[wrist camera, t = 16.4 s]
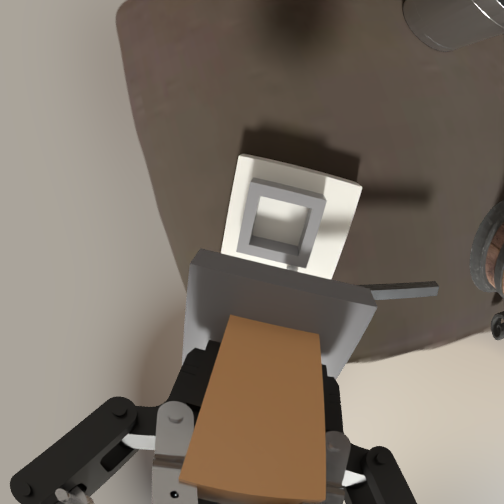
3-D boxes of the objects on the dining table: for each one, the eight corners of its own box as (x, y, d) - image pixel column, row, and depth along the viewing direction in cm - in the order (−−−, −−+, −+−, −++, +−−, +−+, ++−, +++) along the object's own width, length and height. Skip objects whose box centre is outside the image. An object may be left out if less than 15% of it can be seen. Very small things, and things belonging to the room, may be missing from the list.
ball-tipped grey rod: (436, 276, 27) (440, 282, 26) (431, 294, 28) (435, 300, 27) (280, 281, 29) (279, 287, 28) (280, 300, 30) (280, 307, 29)
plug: (216, 225, 15) (90, 420, 4) (357, 260, 15) (426, 471, 4) (201, 333, 19) (137, 493, 8) (313, 358, 18) (312, 525, 8)
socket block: (243, 153, 32) (230, 159, 25) (356, 182, 32) (374, 196, 25) (217, 293, 41) (203, 325, 34) (310, 314, 40) (313, 350, 33)
